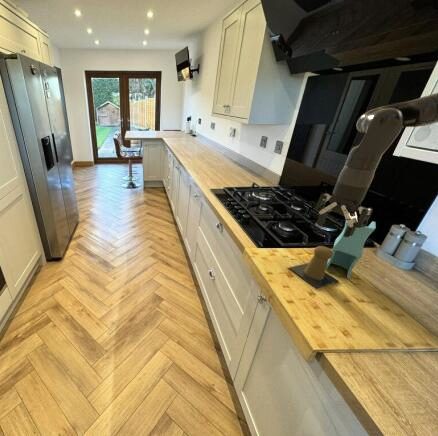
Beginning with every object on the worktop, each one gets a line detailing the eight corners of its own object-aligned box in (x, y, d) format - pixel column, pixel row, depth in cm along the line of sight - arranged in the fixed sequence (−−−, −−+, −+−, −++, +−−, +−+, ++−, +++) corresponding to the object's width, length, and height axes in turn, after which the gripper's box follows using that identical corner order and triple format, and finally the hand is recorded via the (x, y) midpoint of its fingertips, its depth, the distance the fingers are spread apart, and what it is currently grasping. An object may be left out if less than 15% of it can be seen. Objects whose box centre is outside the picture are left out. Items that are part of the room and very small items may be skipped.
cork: (327, 278, 83) (340, 252, 78) (314, 280, 81) (326, 254, 76) (312, 267, 88) (323, 242, 83) (300, 270, 86) (310, 244, 81)
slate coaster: (309, 263, 91) (310, 262, 91) (338, 282, 82) (339, 280, 82) (288, 268, 88) (289, 267, 88) (315, 288, 79) (316, 287, 78)
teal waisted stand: (351, 268, 89) (375, 222, 80) (349, 278, 84) (375, 229, 75) (326, 259, 94) (347, 214, 85) (323, 268, 88) (345, 221, 80)
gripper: (389, 189, 65) (364, 239, 72) (337, 175, 77) (320, 219, 84) (372, 191, 62) (347, 243, 69) (321, 176, 74) (304, 222, 81)
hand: (332, 230), depth 77 cm, fingers open, 8 cm apart
